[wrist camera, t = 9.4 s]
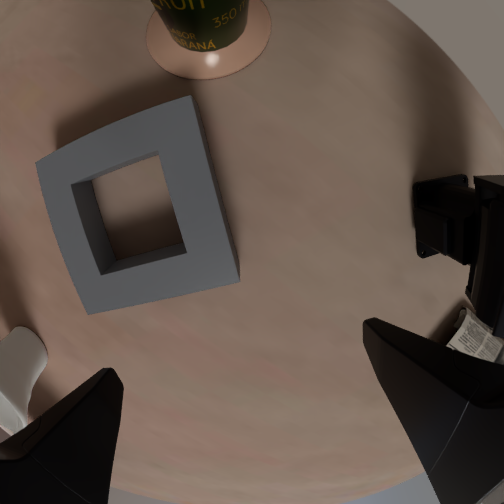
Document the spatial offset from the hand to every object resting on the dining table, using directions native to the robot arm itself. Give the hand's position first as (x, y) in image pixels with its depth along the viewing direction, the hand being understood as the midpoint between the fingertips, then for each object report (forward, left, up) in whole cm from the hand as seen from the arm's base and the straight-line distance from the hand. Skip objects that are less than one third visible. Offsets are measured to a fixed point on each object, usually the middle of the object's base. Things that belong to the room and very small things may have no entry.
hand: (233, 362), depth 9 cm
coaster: (-2, -17, -12) cm, 21 cm away
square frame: (+6, -5, -12) cm, 15 cm away
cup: (+25, +5, -13) cm, 29 cm away
